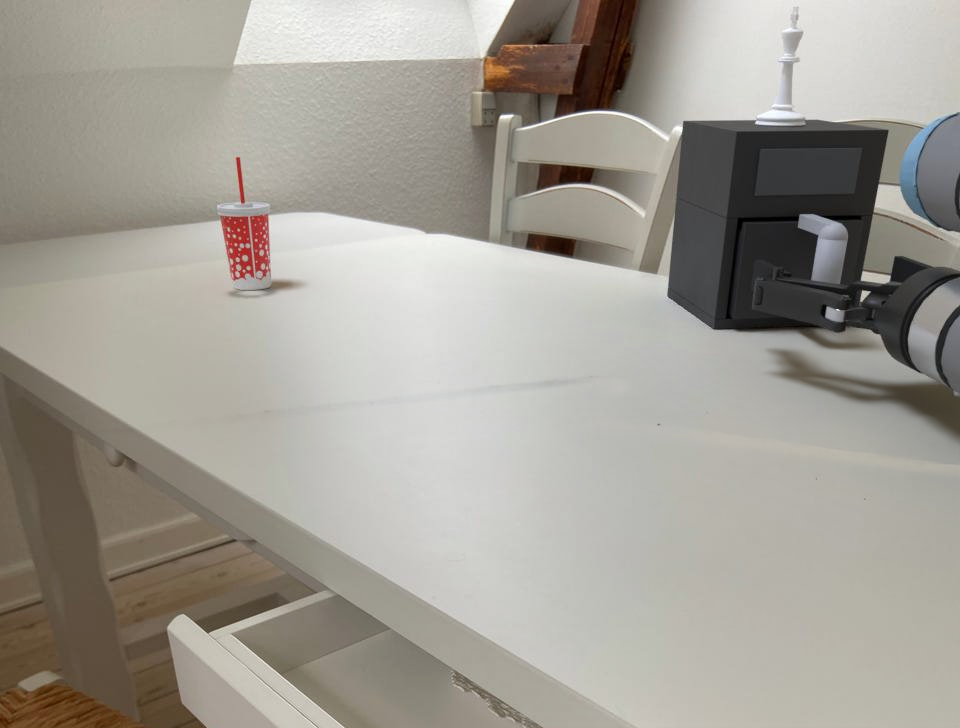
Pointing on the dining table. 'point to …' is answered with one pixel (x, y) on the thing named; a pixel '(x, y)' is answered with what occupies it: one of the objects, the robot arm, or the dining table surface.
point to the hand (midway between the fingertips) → (826, 273)
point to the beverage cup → (247, 240)
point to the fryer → (762, 198)
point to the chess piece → (785, 82)
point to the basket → (791, 254)
